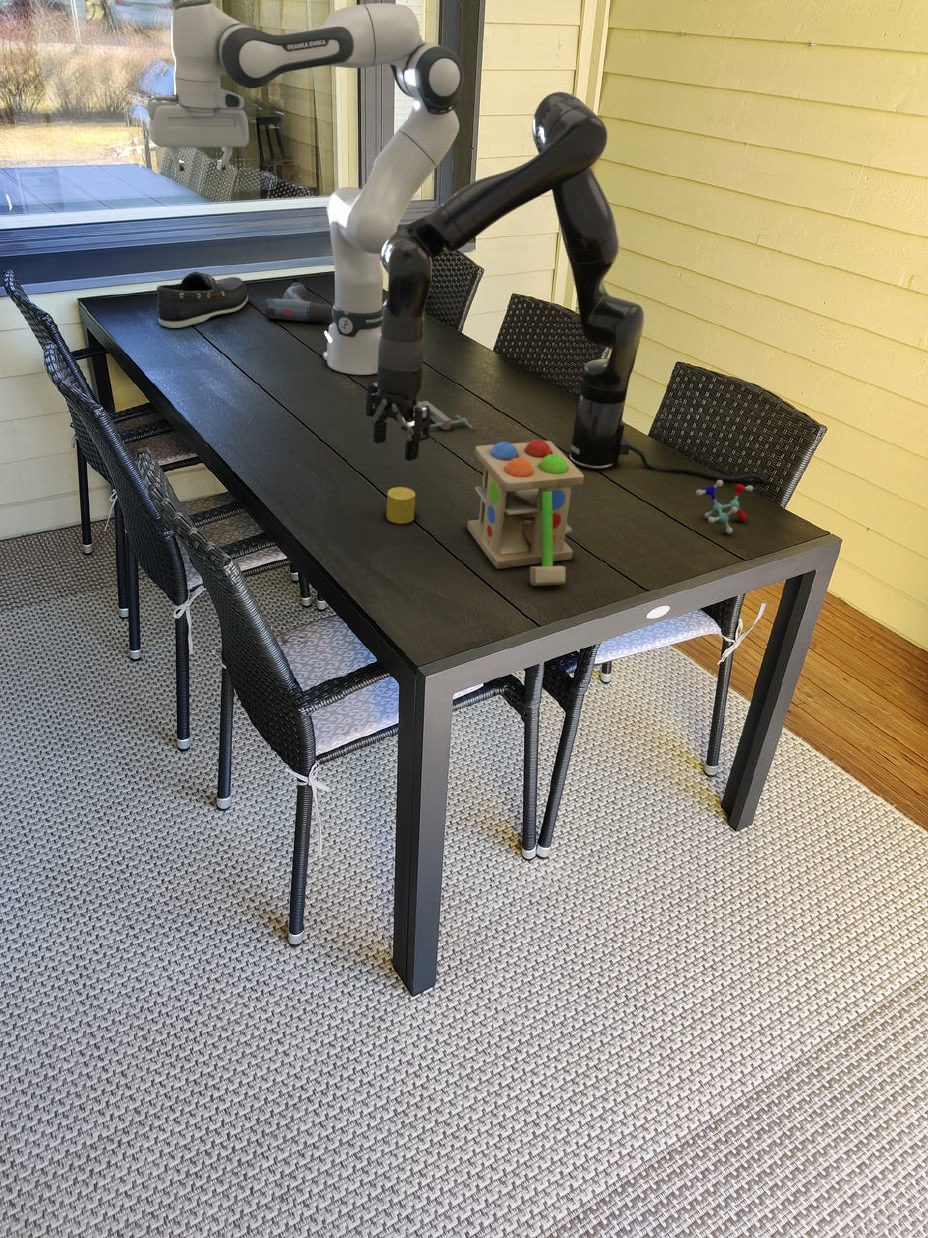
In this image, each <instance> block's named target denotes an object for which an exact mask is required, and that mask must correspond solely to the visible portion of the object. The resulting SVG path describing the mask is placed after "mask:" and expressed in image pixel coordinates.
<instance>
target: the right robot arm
mask: <svg viewBox="0 0 928 1238" xmlns="http://www.w3.org/2000/svg"><path fill="white" fill-rule="evenodd" d="M531 130H532V131H531V132H532V138H533V143H534V145H535V148H536V151H537V152H538V154H537V155H535V156H534V157H533V158H531V159H529V160H528V161H526V162H524V163H523V164H521V165H519V166H517V167H514V168H512V169H509V170H507V171H503V172H500V173H496V174H493V175H489V176H486V177H482V178H479V179H478V180H475V181H472V182H470V183H468V184H467V185H465V186H464V187H462V188H461V189H459V190H458V191H456V192H455V193H454V194H452V195H451V196H450V197H449V198H448V199H446V200H444V201H443V202H442V203H441V204H439V205H438V206H437V207H436V208H435V209H434V210H433V211H431V212H430V213H428V214H426V215H424V216H423V215H422V217H420V218H418V219H415V220H413V221H412V222H410V223H408V224H407V225H404V226H403V227H401V228H400V229H397V232H396V233H394V234H393V235H392V236H391V237H390V238H389V239H388V240H387V241H386V243H385V244H384V246H383V248H382V252H381V253H380V262H381V265H382V266H383V269H384V270H385V272H386V273H387V275H388V284H387V296H386V297H387V298H386V299H385V300H384V301H383V303H382V304H383V308H382V318H381V337H380V342H379V350H378V372H377V374H376V382H373V383H369V384H367V392H366V406H365V414H366V416H367V417H371V422H373V442H374V443H376V444H377V445H379V444H383V443H385V442H386V441H387V426H388V422H387V420H388V419H393V420H394V421H395V422H396V423H398V425H399V428H400V429H401V430H403V432H404V435H405V437H406V440H405V451H404V459H405V460H406V461H408V462H411V461H415V460H416V459H417V458H418V456H419V451H420V442H423V441H426V440H430V425H431V424H430V421H431V419H430V407H429V406H428V405H426V406H421V405H418V403H417V402H418V399H417V395H418V394H419V392H420V391H421V389H422V378H423V366H424V352H425V351H424V349H425V348H424V330H425V329H424V328H425V309H426V307H427V306H426V305H427V302H428V298H429V296H428V294H429V293H430V288H431V284H432V276H433V262H432V260H433V259H435V258H436V257H438V256H439V255H441V254H443V253H445V252H452V253H453V252H457V251H458V250H461V248H463V247H464V246H466V245H467V244H468V243H470V242H471V241H472V240H474V239H475V238H477V237H478V236H479V235H480V234H481V233H483V232H484V231H485V230H487V229H488V228H489V227H491V226H492V225H494V224H495V223H496V222H498V221H499V220H501V219H502V218H503V217H505V216H507V215H509V214H511V213H512V212H514V211H515V210H517V209H518V208H520V207H522V206H524V205H526V204H528V203H530V202H531V201H533V200H535V199H537V198H539V197H541V196H543V195H544V194H546V193H548V192H550V191H551V192H552V197H553V202H554V207H555V211H556V215H557V219H558V223H559V226H560V231H561V232H560V233H561V237H562V241H563V244H564V248H565V252H566V256H567V259H568V262H569V265H570V269H571V274H572V279H573V282H574V283H573V284H574V287H575V293H576V300H577V308H578V315H579V322H580V327H581V332H582V334H583V336H584V339H586V340H587V341H589V342H590V343H592V344H593V345H598V346H601V347H604V348H607V349H610V354H609V357H608V358H601V359H599V358H598V359H594V360H590V361H588V362H586V364H584V366H583V370H582V375H581V382H580V389H579V396H578V401H577V402H578V403H577V408H576V414H575V420H574V428H573V434H572V441H571V445H570V452H569V456H568V459H569V460H570V461H571V462H572V463H573V464H574V465H575V466H576V467H577V466H578V467H579V468H583V469H587V470H592V471H604V470H609V469H610V468H616V467H618V462H619V457H620V456H628V455H629V452H630V451H632V452H634V453H635V454H637V455H638V456H639V457H640V459H641V462H642V465H643V466H645V467H646V468H647V469H649V470H652V471H659V472H669V473H670V472H671V473H672V472H673V473H675V472H681V473H688V474H694V475H698V476H702V477H705V478H711V479H715V480H722V481H726V482H737V481H743V480H748V479H756V480H758V481H759V482H761V483H762V484H768V481H767V480H766V479H765V478H764V477H763V478H762V479H761V476H762V475H760V474H757V473H747V474H743V475H738V476H728V475H727V476H726V475H720V474H716V473H712V472H706V471H703V470H699V469H694V468H689V467H681V466H673V467H661V466H657V465H656V466H655V465H653V464H651V463H649V462H648V461H647V458H646V456H645V453H643V451H642V450H640V449H639V448H637V447H635V446H634V445H631V444H630V442H629V441H628V440H627V438H626V437H625V435H624V430H625V422H624V421H623V416H624V411H625V406H626V400H627V394H628V388H629V384H630V378H631V375H632V373H633V370H634V367H635V365H636V359H637V353H638V349H639V347H640V346H639V345H640V342H641V337H642V334H643V330H644V323H645V312H644V309H643V307H642V306H641V305H640V304H638V303H636V302H633V301H630V300H626V299H624V298H621V297H616V296H613V295H610V294H609V292H608V291H607V288H606V285H605V277H606V276H607V274H609V272H610V270H611V269H612V267H613V265H614V263H615V262H616V260H617V258H618V256H619V251H620V240H619V234H618V231H617V230H618V229H617V223H616V220H615V216H614V213H613V210H612V208H611V205H610V203H609V201H608V198H607V196H606V194H605V192H604V190H603V188H602V186H601V184H600V182H599V181H598V178H597V177H596V174H595V173H594V170H593V168H592V167H593V166H594V165H595V164H596V163H597V162H598V161H599V159H600V158H601V157H602V155H603V153H604V151H605V150H606V147H607V143H608V130H607V127H606V125H605V123H604V122H603V121H602V119H601V118H600V117H599V116H598V115H597V114H596V113H595V112H594V110H591V108H589V107H588V105H586V104H585V103H584V102H583V101H582V100H581V99H580V98H578V97H577V96H575V95H573V94H571V93H569V92H566V91H556V92H552V93H549V94H547V95H546V96H545V97H544V98H543V99H542V100H541V101H540V103H539V104H538V106H537V107H536V109H535V112H534V115H533V118H532V126H531ZM410 419H411V421H410ZM407 421H409V422H407ZM411 429H412V430H411ZM412 431H413V433H412Z"/></svg>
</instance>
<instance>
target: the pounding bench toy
mask: <svg viewBox="0 0 928 1238" xmlns="http://www.w3.org/2000/svg"><path fill="white" fill-rule="evenodd" d="M474 456H475V457H476V459H477V460H478V462H480V464H481V465H482V466H483V476H482V483H481V484H482V485H481V486H477V485H476V486H475V487H474V490H475V491H476V493H477V494H478V496H479V497H480V504H479V515H478V519H472V520H468V521H467V525H466V528H467V530H468V532H469V533H470V534H471V537H473V539H474V540H475V541H476V543H477V544H478V546H479V547H480V548H481V550H482V552H483V553H484V554H485V555H486V557H487V559H489V561H490V562H491V563H492V565H493V566H494V568H495V569H497V570H498V569H507V568H515V567H524V566H529V565H530V567H529V583H530V584H531V585H532V586H533V587H535V586H536V587H537V586H558V585H559V586H561V585H565V583H566V580H567V578H566V576H567V575H566V572H567V571H566V566H563V565H554V562H560V561H567V560H572V559H573V552H574V550H573V549H572V548H571V547H570V546H569V545H568V543H567V542H566V541H565V539H566V534H570V533H572V532H573V529H572V527H571V526H570V525H569V524H568V515H569V508H570V500H571V493H572V486H580V485H583V483H584V479H585V476H584V474H583V472H582V471H580V469H579V468H577V465H575V464H574V463H572V462H571V461H570V459H569V457H567V456H566V455H565V454H564V453H563V452H562V451H561V450H560V449H559V447H558V446H556V445H555V444H554V442H552V441H551V440H543V439H534V440H531V441H527V442H515V443H513V442H512V443H511V442H508V441H500V442H497V443H495V444H488V445H487V444H486V445H485V444H484V445H476V446H475V451H474ZM537 564H541V565H538V566H535V565H537ZM531 565H534V566H531Z"/></svg>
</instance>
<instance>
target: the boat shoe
mask: <svg viewBox="0 0 928 1238" xmlns="http://www.w3.org/2000/svg"><path fill="white" fill-rule="evenodd" d="M156 293H157V294H156V295H157V305H156V306H157V308H156V309H155V311H156V313H158V323H159V325H160V326H162V327H166V328H169V329H170V328H171V329H178V328H185V327H188V326H189V327H190V326H192V325H196V324H199V323H203V322H205V321H206V320H209V318H211V317H214V316H218V315H222V314H228V313H234V312H236V311H239V310H240V309H242V308H243V307H244V306H245V305H246V304H247V303H248V301H249V292H248V290H247V286H246V284H245V283H244V281H243V280H242V278H240V277H236V276H231V277H225V278H220V279H217V280H216V279H215V278H214V277H213V276H212V275H210V274H207V273H204V272H199V271H192V272H190V273H188V274H187V275H185V276H184V278H183V279H182V280H181V282H180V283H174V284H162V285H158V286H157V287H156Z"/></svg>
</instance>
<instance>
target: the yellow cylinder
mask: <svg viewBox="0 0 928 1238" xmlns="http://www.w3.org/2000/svg"><path fill="white" fill-rule="evenodd" d="M386 500H387V501H386V519H387V520H388V521H389V522H391V523H394V524H399V525H401V524H408V523H412V522H413V521H414V518H415V507H416V505H415V504H416V493H415V491H414V490H413V489H412V488H408V487H405V486H397V487H396V486H395V487H392V488H389V490H388V491H387V499H386Z"/></svg>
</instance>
